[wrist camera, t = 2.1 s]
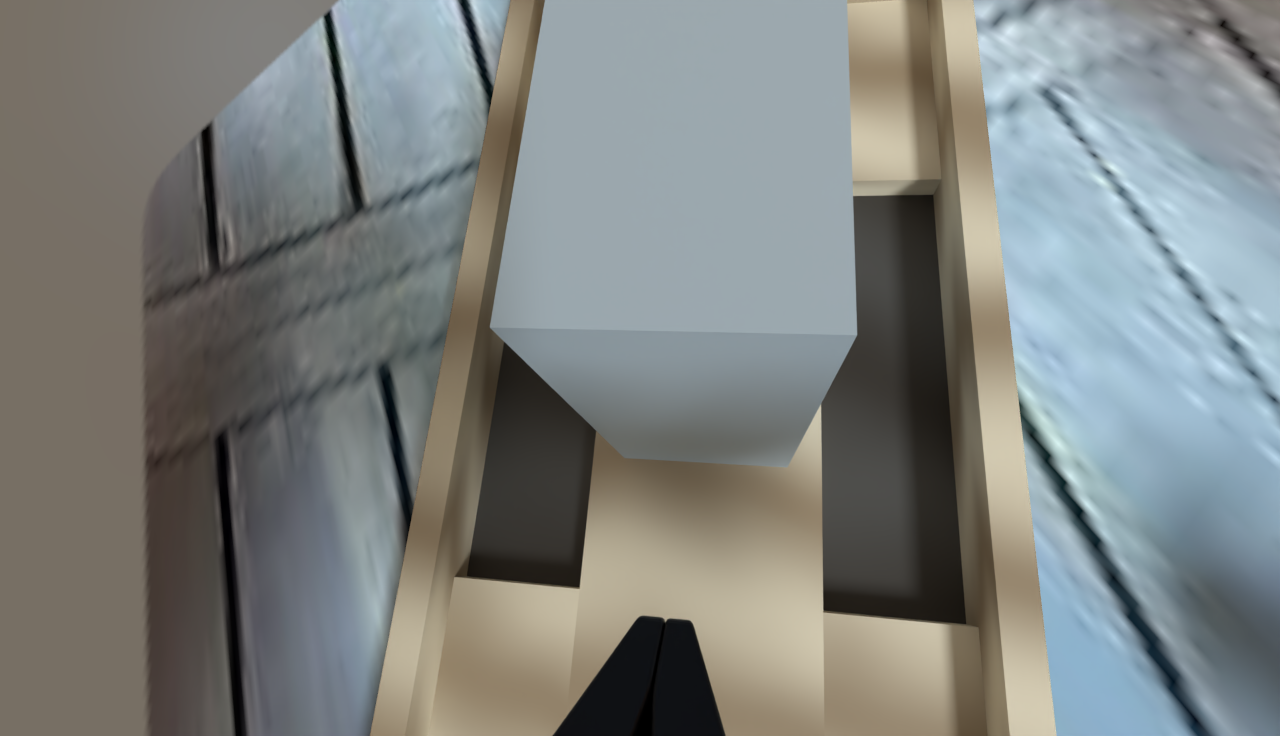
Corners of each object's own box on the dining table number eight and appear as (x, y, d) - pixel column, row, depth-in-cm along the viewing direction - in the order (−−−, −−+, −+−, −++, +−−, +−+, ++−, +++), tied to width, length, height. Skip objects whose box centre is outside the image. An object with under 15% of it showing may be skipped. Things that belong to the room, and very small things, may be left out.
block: (787, 467, 18) (856, 334, 8) (624, 458, 19) (489, 327, 9) (789, 183, 21) (841, -188, 11) (648, 185, 22) (570, -156, 12)
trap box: (1032, 937, 15) (1087, 1004, 12) (395, 825, 17) (345, 864, 15) (944, -1, 24) (966, -61, 21) (533, 27, 27) (515, -23, 24)
